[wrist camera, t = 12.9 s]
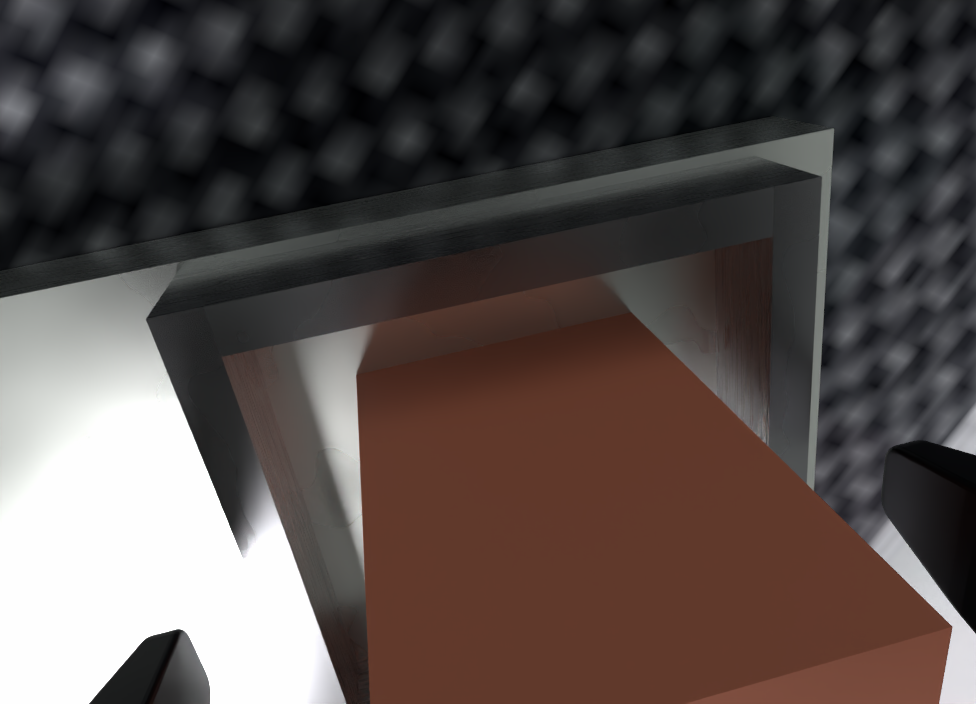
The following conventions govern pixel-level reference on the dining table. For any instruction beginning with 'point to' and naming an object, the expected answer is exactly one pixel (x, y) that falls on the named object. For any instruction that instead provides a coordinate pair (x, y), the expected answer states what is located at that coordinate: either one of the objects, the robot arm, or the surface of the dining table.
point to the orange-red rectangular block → (611, 541)
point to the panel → (353, 387)
